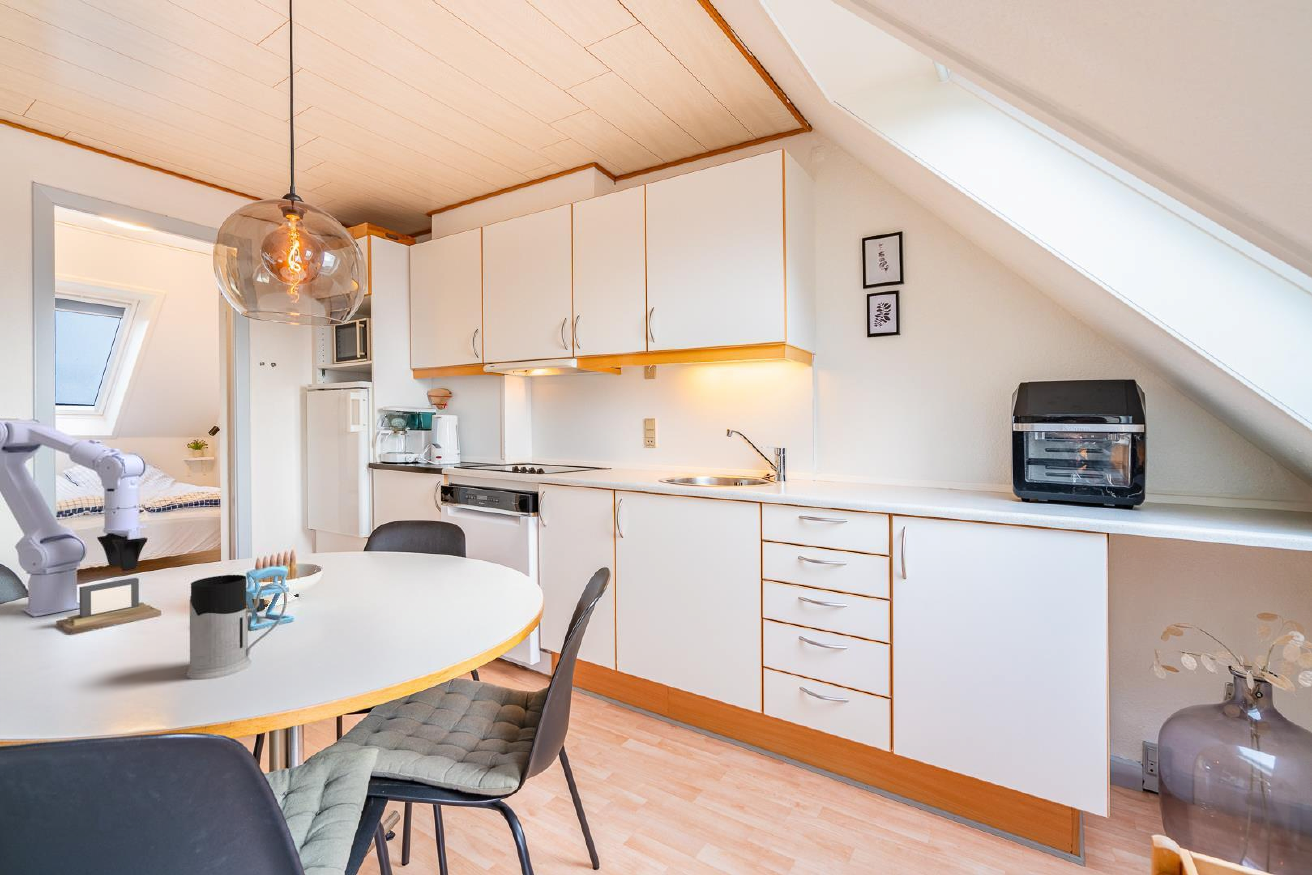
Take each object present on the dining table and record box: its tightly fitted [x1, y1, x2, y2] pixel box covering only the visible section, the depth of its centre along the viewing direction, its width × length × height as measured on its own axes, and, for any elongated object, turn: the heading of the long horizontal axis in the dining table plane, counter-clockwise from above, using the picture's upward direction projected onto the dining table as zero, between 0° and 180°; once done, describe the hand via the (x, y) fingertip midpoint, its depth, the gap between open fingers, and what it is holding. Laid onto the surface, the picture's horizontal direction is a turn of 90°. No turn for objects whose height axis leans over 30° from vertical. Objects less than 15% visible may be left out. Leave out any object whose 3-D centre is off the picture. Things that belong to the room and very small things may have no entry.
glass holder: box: [186, 574, 288, 680], centre depth 98 cm, size 9×14×15 cm, turn 111°
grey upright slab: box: [78, 577, 140, 618], centre depth 122 cm, size 2×9×7 cm, turn 149°
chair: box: [245, 564, 295, 631], centre depth 121 cm, size 8×8×12 cm
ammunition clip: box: [252, 549, 300, 613], centre depth 133 cm, size 11×2×12 cm, turn 165°
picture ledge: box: [55, 601, 162, 635], centre depth 122 cm, size 10×14×2 cm
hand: (122, 568), depth 129 cm, fingers open, 7 cm apart
